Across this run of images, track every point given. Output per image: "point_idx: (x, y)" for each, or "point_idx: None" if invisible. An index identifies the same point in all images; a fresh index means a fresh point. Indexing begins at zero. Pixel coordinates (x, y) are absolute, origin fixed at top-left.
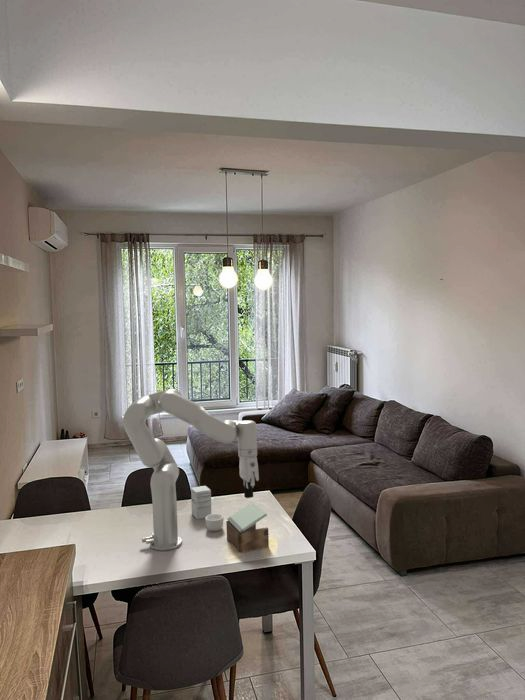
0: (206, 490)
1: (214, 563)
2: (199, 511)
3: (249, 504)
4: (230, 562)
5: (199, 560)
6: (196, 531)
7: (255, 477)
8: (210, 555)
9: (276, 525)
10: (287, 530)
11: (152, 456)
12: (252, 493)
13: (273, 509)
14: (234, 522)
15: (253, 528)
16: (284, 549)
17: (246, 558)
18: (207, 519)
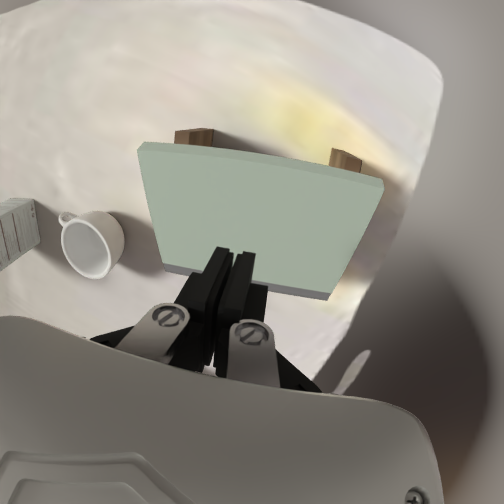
0: None
1: (327, 338)
2: (25, 243)
3: (147, 172)
4: (353, 307)
5: (286, 355)
6: (105, 280)
7: (408, 500)
8: (277, 327)
9: (179, 24)
10: (248, 10)
11: None
12: (250, 275)
13: (67, 5)
14: None
15: (204, 141)
16: (394, 119)
17: (365, 261)
18: (95, 277)
